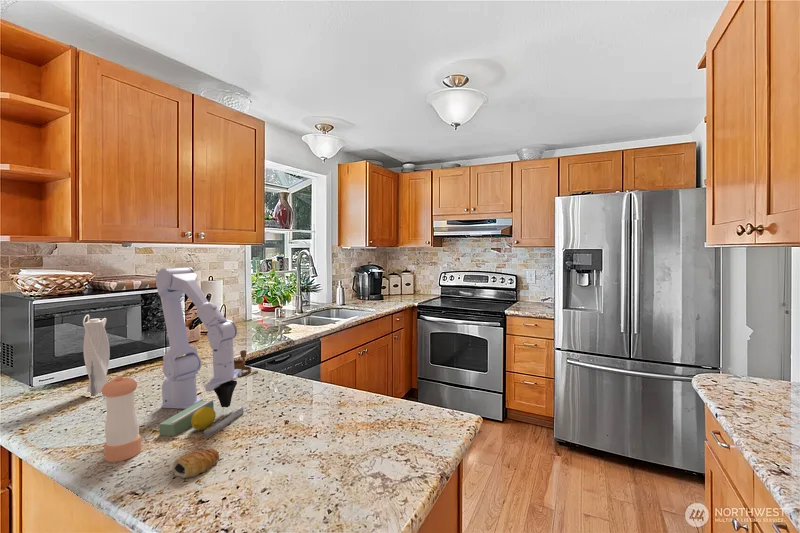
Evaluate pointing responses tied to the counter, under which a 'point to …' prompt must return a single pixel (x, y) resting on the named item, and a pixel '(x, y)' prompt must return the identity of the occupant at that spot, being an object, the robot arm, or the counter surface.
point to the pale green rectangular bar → (182, 419)
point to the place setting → (243, 365)
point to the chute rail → (223, 422)
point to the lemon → (203, 418)
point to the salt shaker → (121, 420)
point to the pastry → (195, 463)
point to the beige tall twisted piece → (96, 354)
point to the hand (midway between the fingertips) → (225, 406)
